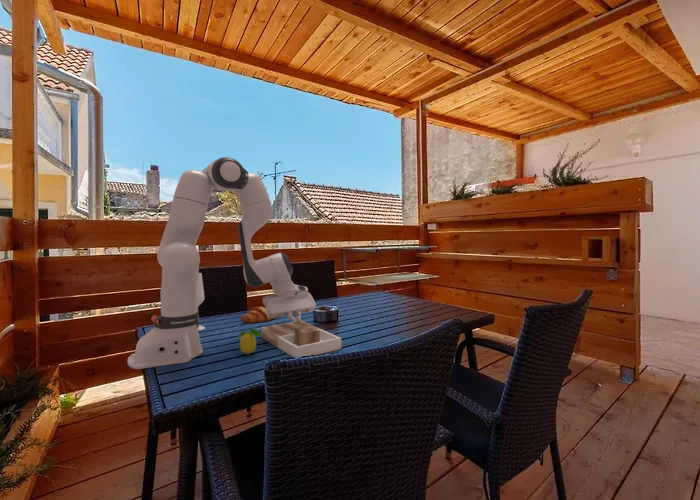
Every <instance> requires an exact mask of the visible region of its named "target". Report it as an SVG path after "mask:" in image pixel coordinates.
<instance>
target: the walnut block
mask: <svg viewBox="0 0 700 500" xmlns="http://www.w3.org/2000/svg"><path fill="white" fill-rule="evenodd" d="M318 329H319V328H318ZM318 329H315V328H313V327H311V326H304V327H298V328H295V344H296V345H297V346H303V345H307V344H312V343H316V342H320V330H318Z"/></svg>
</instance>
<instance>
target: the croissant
mask: <svg viewBox="0 0 700 500" xmlns="http://www.w3.org/2000/svg"><path fill="white" fill-rule="evenodd" d="M276 318H277V317H275V318H269V317H268V316H267V314H266V309H265V306H264V307H263V306H255V307H253V308H252V309H251V310H250V311H248V312H247V314H244V315H243V316H240V321H242V322H245V323H251V324H252V323H253V324H255V323H262V322H269V321H271V320H274V319H276Z"/></svg>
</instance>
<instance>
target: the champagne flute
mask: <svg viewBox="0 0 700 500" xmlns="http://www.w3.org/2000/svg"><path fill="white" fill-rule="evenodd" d="M204 301H205V291H204V282H203V275H202V273H201V272H199V273H198V282H197V312H198V313H199V306H201V305H202V303H203V302H204ZM205 329H206V327H205V326H204V325H201V324H199V327H198V331H202V330H205Z"/></svg>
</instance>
